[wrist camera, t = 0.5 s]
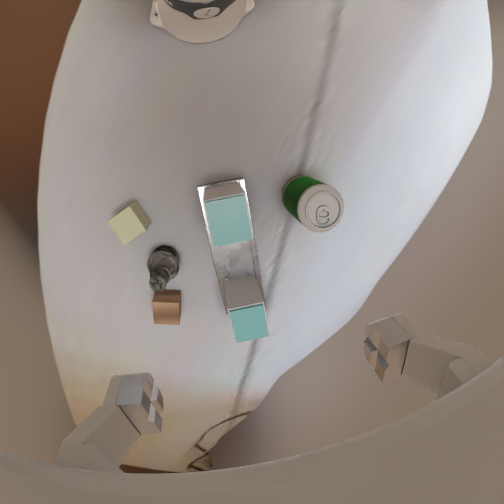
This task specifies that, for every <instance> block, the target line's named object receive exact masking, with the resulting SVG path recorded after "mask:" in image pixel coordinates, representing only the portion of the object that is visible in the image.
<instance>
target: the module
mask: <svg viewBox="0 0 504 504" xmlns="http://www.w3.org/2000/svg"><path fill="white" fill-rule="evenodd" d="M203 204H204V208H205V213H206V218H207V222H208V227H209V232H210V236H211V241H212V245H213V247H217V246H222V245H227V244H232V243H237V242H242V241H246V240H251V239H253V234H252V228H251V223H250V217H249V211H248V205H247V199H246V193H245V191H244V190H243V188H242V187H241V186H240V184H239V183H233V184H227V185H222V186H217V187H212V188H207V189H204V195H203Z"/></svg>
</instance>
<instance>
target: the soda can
mask: <svg viewBox="0 0 504 504" xmlns="http://www.w3.org/2000/svg"><path fill="white" fill-rule="evenodd" d="M282 200H283V204H284V206H285V208H286V209H287V210H288V211H289V212H290V213H291V214H292V215H293V216H294V217H295V218H296V219H297V220H298V221H299V222H301V223H302V224H303V225H304V226H305V227H306V228H307V229H309V230H311V231H314V232H325V231H328V230H330V229H332V228H333V227H335V226H336V224H337V223H338V222H339V221H340V219H341V217H342V215H343V209H344V205H343V199H342V197H341V195H340V193H339V192H338V191H337V190H336V189H335V188H333V187H331V186H329V185H327V184H324V183H322V182H320V181H317V180H315V179H312V178H310V177H307V176H299V177H295V178H293V179H292V180H290V181H289V182H288V183H287V184H286V185H285V188H284V190H283V195H282Z"/></svg>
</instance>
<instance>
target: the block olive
mask: <svg viewBox="0 0 504 504" xmlns="http://www.w3.org/2000/svg"><path fill="white" fill-rule="evenodd" d="M150 223H151V221H150V220H149V218H148V217H147V215H146V214H145V212H144V211H143V209H142V208H141V206H140V205H139V203H138V202H137V200H135V201H134V202H133V203H131V204H130V205H128V206H127V207H126V208H124V209H123V210H122V211H120V212H119V213H117V214H116V215H115V216H114V217H113V218H112V219H110V220H109V221H108V224H109V225H110V227H111V228H112V229H113V231H114V232H115V234H116V235H117V237H118V238H119V239H120V241H121V242H122V244H123V245H125V244H127V243H128V242H130V241H131V240H133V239H134V238H136V237H137V236H138V235H140V234H141V233H143V232H144V231H146V230H147V228H148V227H149V225H150Z"/></svg>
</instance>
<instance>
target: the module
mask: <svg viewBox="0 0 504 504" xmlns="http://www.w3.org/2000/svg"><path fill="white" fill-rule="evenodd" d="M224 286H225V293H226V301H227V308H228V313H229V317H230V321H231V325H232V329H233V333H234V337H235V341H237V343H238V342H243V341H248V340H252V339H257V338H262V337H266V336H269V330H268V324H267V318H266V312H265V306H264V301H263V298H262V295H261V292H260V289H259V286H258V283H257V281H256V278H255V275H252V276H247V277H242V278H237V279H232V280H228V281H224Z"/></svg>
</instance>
